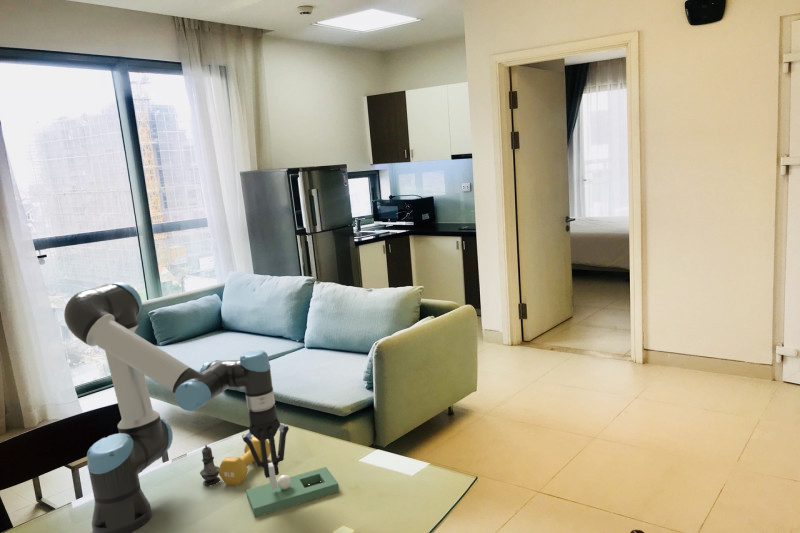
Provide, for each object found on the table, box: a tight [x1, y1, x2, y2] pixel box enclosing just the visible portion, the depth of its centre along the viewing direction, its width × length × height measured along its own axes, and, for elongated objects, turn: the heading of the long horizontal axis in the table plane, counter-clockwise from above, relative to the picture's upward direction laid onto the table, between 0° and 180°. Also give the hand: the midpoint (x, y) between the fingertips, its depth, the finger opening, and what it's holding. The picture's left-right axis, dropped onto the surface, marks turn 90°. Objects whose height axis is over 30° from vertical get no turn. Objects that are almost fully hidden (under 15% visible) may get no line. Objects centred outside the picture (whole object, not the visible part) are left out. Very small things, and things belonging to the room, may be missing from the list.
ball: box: [276, 474, 292, 490], centre depth 175 cm, size 4×4×4 cm
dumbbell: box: [218, 435, 271, 486], centre depth 193 cm, size 19×9×8 cm, turn 162°
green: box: [245, 466, 340, 518], centre depth 176 cm, size 24×12×2 cm, turn 114°
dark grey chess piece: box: [199, 444, 221, 487], centre depth 189 cm, size 6×6×12 cm
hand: (273, 486), depth 174 cm, fingers closed
